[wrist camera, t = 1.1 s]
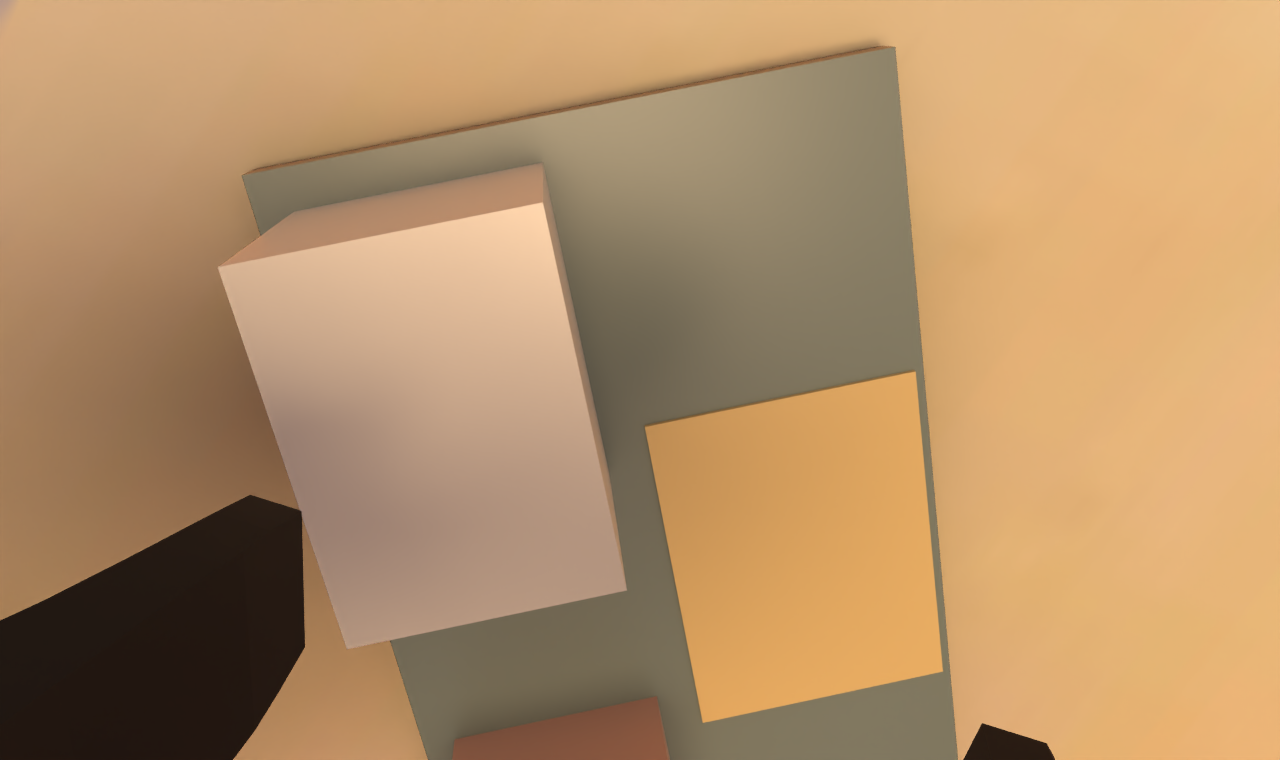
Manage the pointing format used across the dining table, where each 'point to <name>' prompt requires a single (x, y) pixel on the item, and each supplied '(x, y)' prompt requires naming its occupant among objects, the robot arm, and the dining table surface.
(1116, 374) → the dining table surface
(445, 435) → the cream brick
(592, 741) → the terracotta brick
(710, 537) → the baseplate
